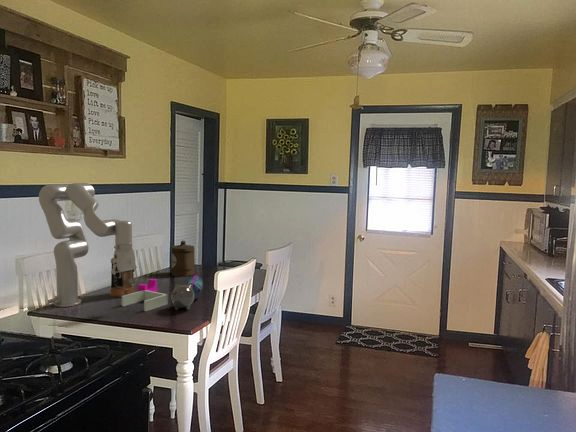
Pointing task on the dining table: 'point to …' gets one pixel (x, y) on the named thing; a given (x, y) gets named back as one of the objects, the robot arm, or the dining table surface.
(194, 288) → the pencil case
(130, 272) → the block
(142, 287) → the toy block
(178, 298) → the piggy bank
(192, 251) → the brown rounded container
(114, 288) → the whiskey bottle
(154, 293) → the u-shaped bracket
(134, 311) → the dining table surface
